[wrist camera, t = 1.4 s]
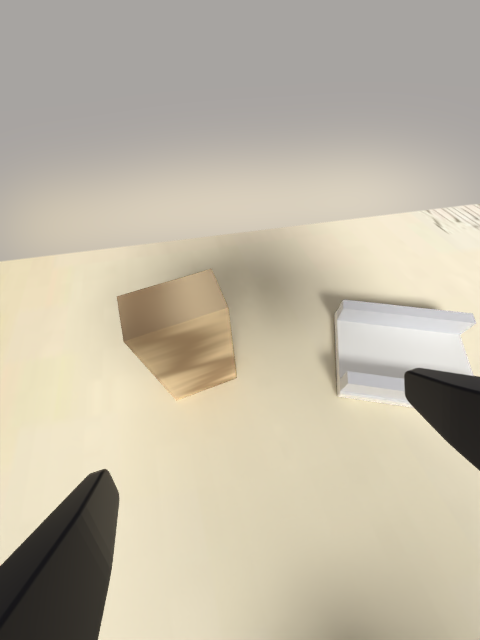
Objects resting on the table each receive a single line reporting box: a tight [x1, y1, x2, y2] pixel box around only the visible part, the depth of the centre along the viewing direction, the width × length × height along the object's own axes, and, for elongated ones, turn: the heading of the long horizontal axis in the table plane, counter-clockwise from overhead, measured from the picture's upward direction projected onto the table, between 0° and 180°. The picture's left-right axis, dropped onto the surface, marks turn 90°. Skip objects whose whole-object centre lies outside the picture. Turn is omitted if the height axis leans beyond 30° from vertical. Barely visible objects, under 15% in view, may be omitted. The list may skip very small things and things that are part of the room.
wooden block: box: [117, 269, 237, 401], centre depth 19 cm, size 6×3×11 cm, turn 111°
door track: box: [334, 300, 476, 408], centre depth 22 cm, size 11×8×3 cm
